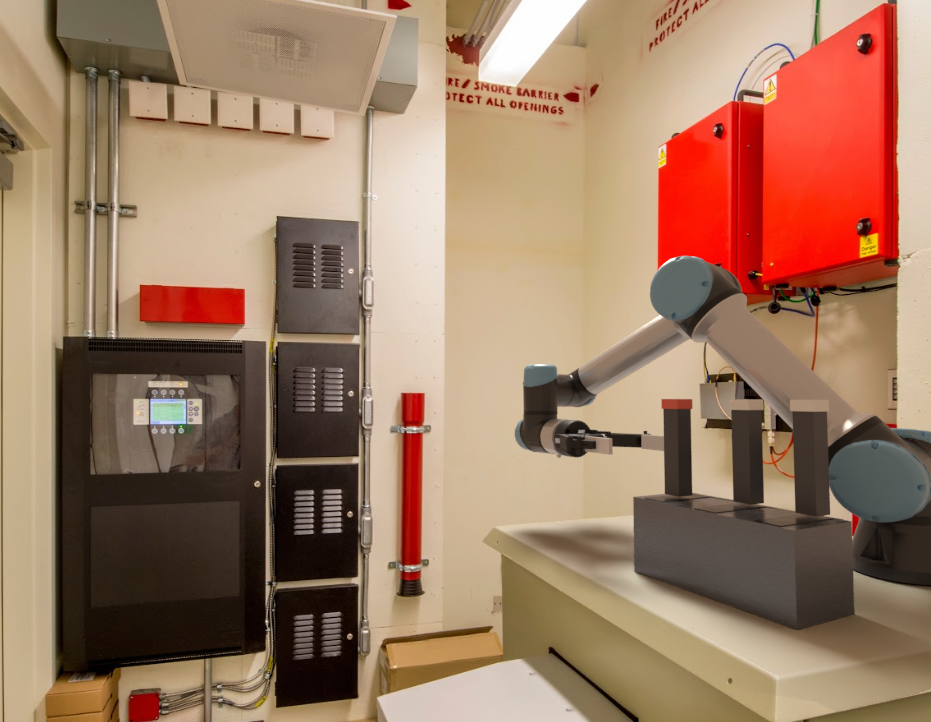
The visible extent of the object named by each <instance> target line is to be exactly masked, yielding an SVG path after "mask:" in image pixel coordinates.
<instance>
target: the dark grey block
mask: <svg viewBox="0 0 931 722" xmlns="http://www.w3.org/2000/svg"><path fill="white" fill-rule="evenodd" d="M632 498H633V499H632V500H633V563H634V564H633V566H634V567H633V569H634V570H633V571H634V572H636V573H638V574H641V575H644V576H647V577H648V578H649V577H650V578H653V579H654V580H658V581H660V582H663V583H666V584H668V585H671V586H674V587H677V588H679V589H682V590H686V591H688V592H691V593H694V594H697V595H700V596H702V597H705V598H708V599H710V600H713V601H715V602H719V603H721V604H724V605H726V604H727V606H729V605H730V606H729V607H732V608H734V609H735V608H736V609H739V610H740V609H741V611H743V610H744V611H743V612H746V613H749V614H751V613H752V615H755V616H757V617H761V618H763V619H765V620H768V621H770V622H774V623H777V624H780V625H782V626H784V627H788V628H790V629H793V630H796V631H798V630H802V629H805V628H810V627H813V626H816V625H820V624H823V623H827V622H830V621H835V620H837V619H841V618H842V619H843V618H845V617H849V616H852V615H855V612H856V611H855V585H854V581H855V580H854V569H853V551H852V539H853V532H852V531H853V525H852V521H851V520H845V519H844V518H840V517H839V518H838V517H832V516H828V515H825V516H818V517H816V516H810V515H805V514H799V513H795V509H794V510H793V509H788V508H781V507H775V506H772V505H771V506H770V505H764V504H753V505H749V504H744V503H738V502H733V499H730V498H725V497H720V496H714V495H708V494H702V493H696V492H692V496H682V497H678V496H672V495H667V494H665V493H662V494H661V493H659V494H649V495H640V496H633V497H632Z"/></svg>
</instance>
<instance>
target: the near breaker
mask: <svg viewBox="0 0 931 722" xmlns="http://www.w3.org/2000/svg"><path fill="white" fill-rule="evenodd" d="M790 411H792V414H793V429H792V436H793V437H792V442H793V444H792V446H793V477H794V480H793V481H794V506H795V507H794V511H795V513H799V514H805V515H810V516H816V517H818V516H830V515H831V497H830V486H829V461H828V431H827V411H829V400H790Z"/></svg>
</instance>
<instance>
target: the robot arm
mask: <svg viewBox="0 0 931 722" xmlns="http://www.w3.org/2000/svg"><path fill="white" fill-rule="evenodd" d="M649 287H650V289H649V290H650V291H649V298H650V303H651V305H652V308H653V309H654V310H655V312H657V314H659V315H657V316H656V317H655V318H652V320H650V321H648V322H647V323H645V324H644V325H642V326H641V327H639V328H638V329H635V331H633V332H632V333H630V334H628V335H627V336H625V337H623V338H622V339H620V340H619V341H617V342H616V343H615V344H613V345H612V346H610V347H608V348H607V349H605V350H604V351H602V352H601V353H599V354H597V356H595V357H593V358H591V359H590V360H588V361H587V362H585V363H584V364H582V365H581V366H580V367H578V368H576V369H575V370H573V371H571V372H570V373H569V374H560V373H558V368H557V366H556V365H554V364H543V363H541V364H540V363H539V364H528V365H526V366H525V367H524V370H523V381H522V386H523V389H522V391H523V392H522V393H523V414H522V419H521V420H519V421H518V422H517V425H516V427H515V429H514V437H515V438H514V439H515V442H516V443H517V445H518V446H519V447H521V448H522V449H524V450H527V451H531V452H532V453H541V454H542V453H543V454H551V455H556V458H559V459H560V458H562V456H564V457H568V458H569V457H570V458H582V457H583V456H586V455H587V453H593V454H595V453H596V454H603V455H609V456H610V455H613V448H614V447H615V448H641V449H642V450H653V451H659V452H660V451H661V452H664V435H658V434H657V435H656V434H651V433H648V430H644V431H643V433H626V432H625V433H622V432H621V433H620V432H611V431H607V430H598V429H591V428H590V426H589V425H588V424H587V423H586V422H585V421H582V420H577V419H567V418H566V419H565V418H564V419H563V418H558V407H559V408H560V407H563V408H564V407H565V408H566V407H569V408H570V407H571V408H582V407H585V406H589V405H591V404H592V403H593V402H594V401H595V400H596V397H597V396H598V394H600V393H602V392H603V391H605V390H607V389H608V388H610V387H612V386H614V385H615V384H617V383H618V382H620V381H622V380H624V379H625V378H626V377H629V376H630V375H632V374H633V373H635V372H637V371H638V370H641V369H642V368H644V367H645V366H647V365H649V364H650V363H652V362H653V361H655V360H657V359H659V358H660V357H662V356H664V355H665V354H667V353H669V352H670V351H672V350H674V349H675V348H678V347H679V346H681V345H682V344H684V343H685V342H687V341H689V340H692V341H693V342H694V343H699V344H700V343H707V344H708V345H710V347H711V348H712V349H713V350H714V351H715V352H716V353H717V354H718V355H719V356H720V357H721V358H722V359H723V360H724V362H726V363H727V364H728V365H729V366H730V367H731V368H732V369H733V370H734V371H735V372H736V373H737V375H739V376H740V377H741V378H742V379H743V380H744V382H746V384H747V385H748V386H749V387H751V389H752V390H753V391H754V392H755V393H757V394H758V396H759V397H760V398H761V399H763V402H766V405H768V406H769V407H770V408H771V409H772V410H773V411H774V412H775V413H776V414H777V415H778V416H779V417H780V418H781V419H782V420H783V421H784V422H785V423H786V424H787V425H788V426H789V427H790V429H792V430H793V414H792V411H790V400H829V411H827V431H828V461H829V490H830V491H831V493H832V495H833V497H834V498H835V500H836V502H838V504H840V506H842V507H843V508H844V509H845V510H846V511H848V512H849V513H851V514H852V515H854V516H856V517H858V523H857V525H856V528H855V531H854V534H853V535H852V551H853V571H856V572H858V573H862V574H864V575H867V576H871V577H874V578H879V579H882V580H887V581H891V582H892V581H893V582H897V583H904V584H905V583H906V584H912V585H920V586H921V585H922V586H923V585H924V586H931V431H930V430H925V429H923V430H922V429H920V430H919V429H916V428H914V429H913V428H900V427H899V428H896V427H895V428H894V427H889V425H888V424H886V422H884V421H883V420H882V419H881V418H880V417H878V416H877V415H876V414H875V413H866V412H865V413H862V412H858V411H856V410H855V409H854V407H852V405H850V404H849V403H848V402H847V401H846V400H845V399H844V398H842V396H841V395H840V394H838V393H837V392H836V391H835V390H834V389H833V388H832V387H831V386H830V385H829V384H828V383H827V382H825V380H823V378H821V377H820V376H819V375H818V374H817V373H816V372H815V371H813V369H811V368H810V367H809V366H808V365H807V364H806V363H805V362H804V361H803V359H802V358H800V357H799V356H798V355H797V354H796V353H794V352H793V351H792V350H791V348H790V347H788V346H787V345H786V344H785V343H784V342H782V340H780V339H779V338H778V337H777V336H776V335H775V334H774V333H773V332H772V331H771V330H770V329H769V328H767V326H766V325H765V324H764V323H762V322H761V321H760V320H759V319H758V318H757V317H756V316H755V315H754V314H753V313H752V312H750V311H749V310H748V309H747V307H748V305H747V303H748V297H747V295H746V294H744V293H743V289H742V285H741V283H740V281H739V279H738V278H737V277H736V275H734V274H733V273H732V272H730V271H729V270H728V269H726V268H724V267H720V266H718V265H715V264H713V263H711V262H708V261H705V260H704V259H703V258H701V257H698V256H692V255H691V256H690V255H680V256H676V257H673V258H670V259H668V260H667V261H666V262H664V263H663V264H662V265H661V266H659V268H658V270H656V271H655V274H654V275H653V278H652V279H651V282H650V286H649Z"/></svg>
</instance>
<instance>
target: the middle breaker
mask: <svg viewBox="0 0 931 722" xmlns="http://www.w3.org/2000/svg"><path fill="white" fill-rule="evenodd" d="M728 402H729V403H728V407H729V408H728V410H730V413H731V414H730V415H731V417H730V418H731V452H732V453H731V456H732V457H731V459H732V491H733V493H732V497H733V499H732V500H733V502H738V503H744V504H749V505H753V504H760V505H762V504H765V493H764V491H765V489H764V487H765V486H764V455H763V453H764V452H763V451H764V450H763V447H764V446H763V415H762V414H763V413H762V411H764V410H765V409H764V400H763V399H762V398H761V399H758V398H757V399H754V398H753V399H752V398H751V399H749V398H745V399H744V398H742V399H741V398H739V399H737V398H736V399H734V398H733V399H732V398H731V399H730V398H729V399H728Z"/></svg>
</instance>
